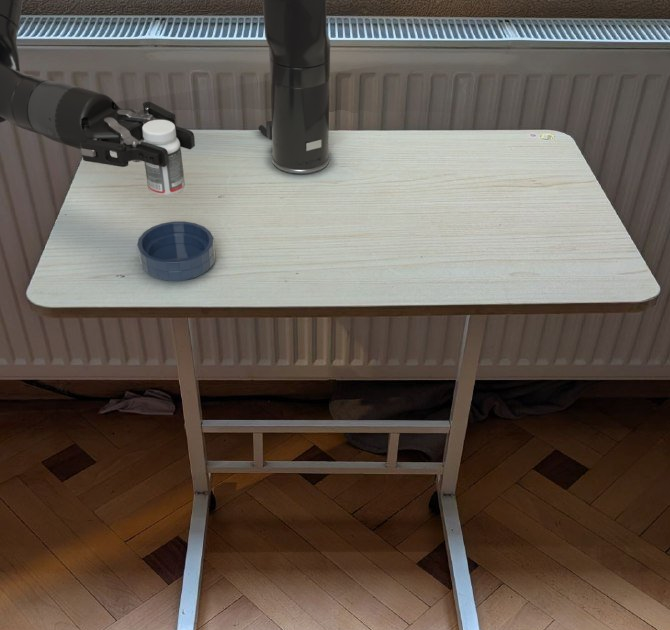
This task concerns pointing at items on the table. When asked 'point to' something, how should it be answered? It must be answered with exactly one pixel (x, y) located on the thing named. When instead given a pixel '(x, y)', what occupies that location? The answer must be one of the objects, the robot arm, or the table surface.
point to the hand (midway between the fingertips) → (179, 149)
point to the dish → (176, 250)
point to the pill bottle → (171, 175)
